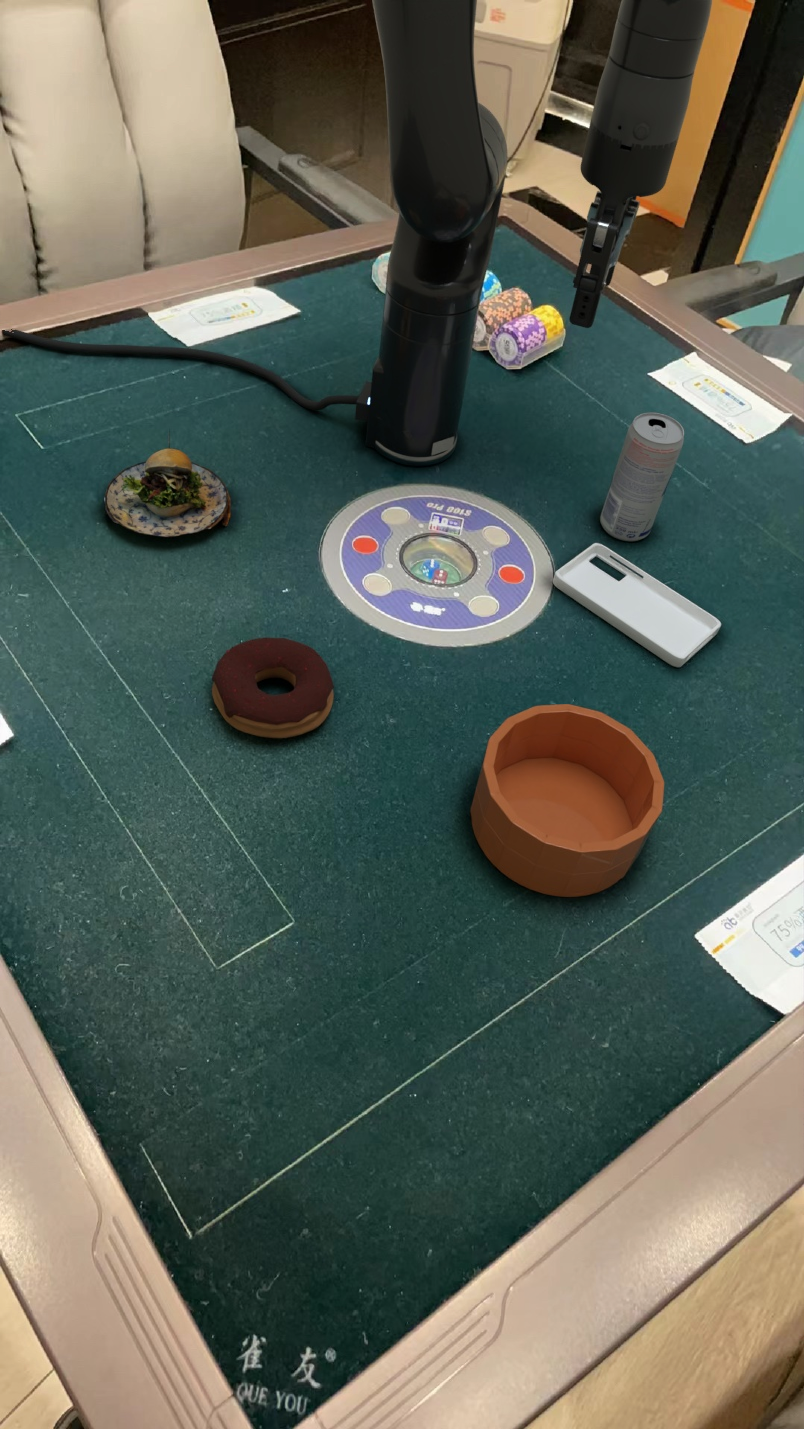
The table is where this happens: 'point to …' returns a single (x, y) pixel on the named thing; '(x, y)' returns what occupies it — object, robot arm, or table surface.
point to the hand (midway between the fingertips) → (589, 303)
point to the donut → (267, 711)
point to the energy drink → (641, 476)
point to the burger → (167, 496)
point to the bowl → (565, 799)
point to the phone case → (638, 605)
